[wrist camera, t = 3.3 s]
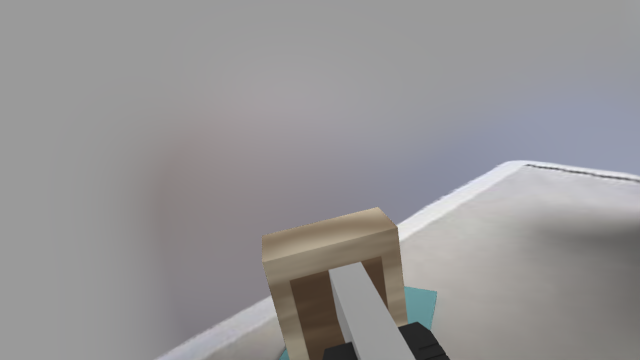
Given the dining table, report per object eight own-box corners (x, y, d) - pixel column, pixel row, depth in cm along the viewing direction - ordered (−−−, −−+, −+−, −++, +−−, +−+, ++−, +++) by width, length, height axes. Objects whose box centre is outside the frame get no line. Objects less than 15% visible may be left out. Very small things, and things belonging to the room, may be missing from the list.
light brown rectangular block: (300, 377, 30) (262, 235, 25) (396, 348, 32) (378, 206, 26) (306, 419, 27) (262, 262, 21) (414, 384, 28) (397, 227, 23)
